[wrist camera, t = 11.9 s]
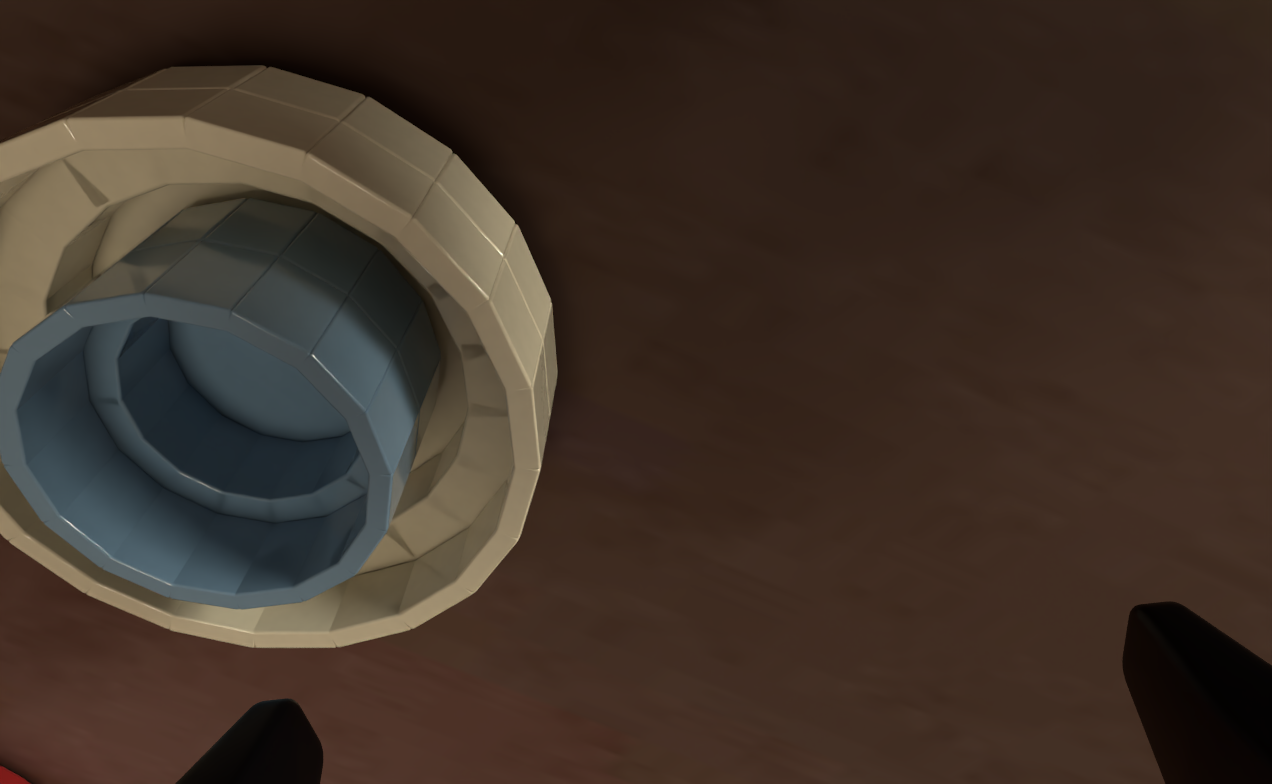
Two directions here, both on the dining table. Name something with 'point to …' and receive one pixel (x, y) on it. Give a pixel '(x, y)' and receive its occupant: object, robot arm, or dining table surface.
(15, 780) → the canned food
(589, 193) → the dining table surface
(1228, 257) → the dining table surface
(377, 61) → the dining table surface
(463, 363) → the cream bowl
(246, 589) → the slate bowl
